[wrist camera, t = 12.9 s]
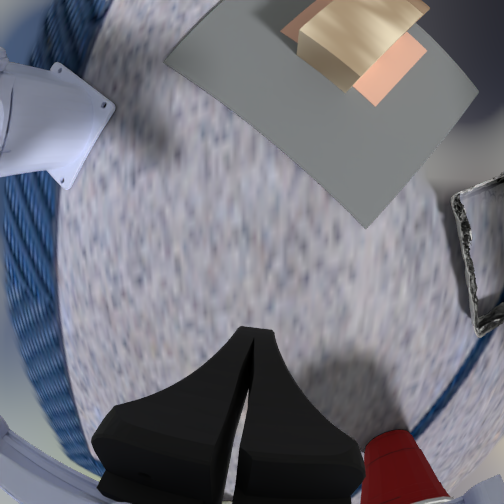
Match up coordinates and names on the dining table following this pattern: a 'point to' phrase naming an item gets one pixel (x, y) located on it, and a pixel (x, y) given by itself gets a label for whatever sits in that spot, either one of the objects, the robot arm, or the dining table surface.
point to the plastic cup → (399, 472)
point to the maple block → (355, 36)
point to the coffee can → (226, 502)
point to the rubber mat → (328, 98)
